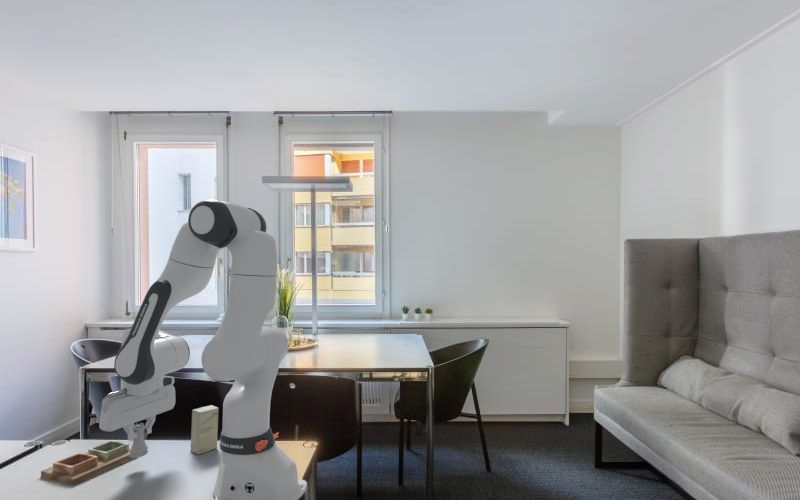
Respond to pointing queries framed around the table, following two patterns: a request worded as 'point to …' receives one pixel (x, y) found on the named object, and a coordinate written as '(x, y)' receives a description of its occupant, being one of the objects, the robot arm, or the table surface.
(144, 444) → the rook chess piece
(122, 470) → the table surface
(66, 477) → the board
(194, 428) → the skincare box
